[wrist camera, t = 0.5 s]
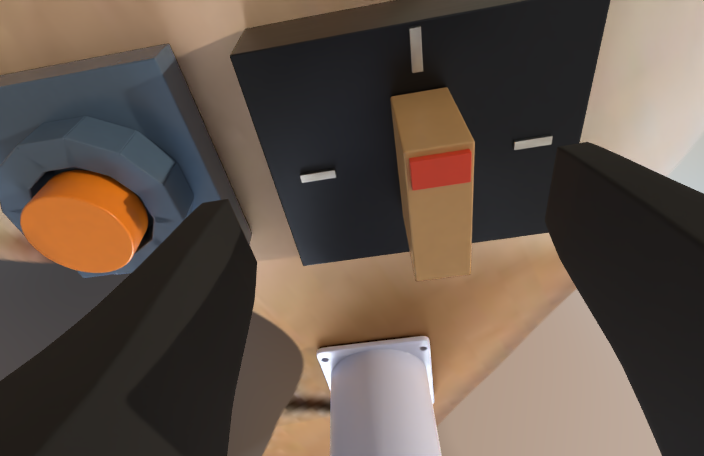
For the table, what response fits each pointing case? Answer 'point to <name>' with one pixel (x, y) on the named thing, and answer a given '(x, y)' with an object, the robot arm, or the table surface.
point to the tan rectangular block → (435, 182)
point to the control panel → (410, 77)
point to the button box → (112, 138)
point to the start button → (85, 221)
